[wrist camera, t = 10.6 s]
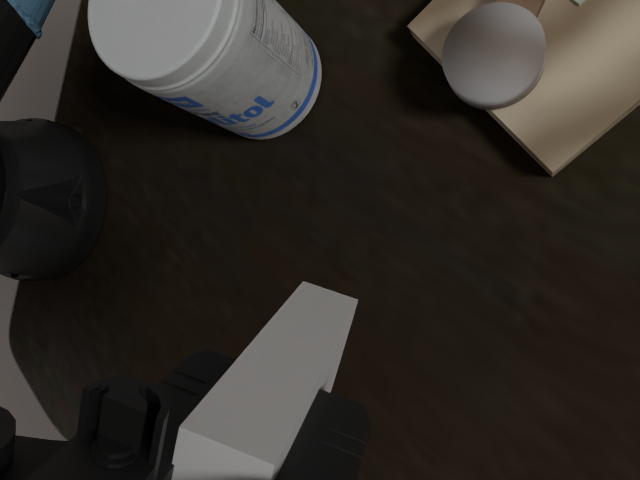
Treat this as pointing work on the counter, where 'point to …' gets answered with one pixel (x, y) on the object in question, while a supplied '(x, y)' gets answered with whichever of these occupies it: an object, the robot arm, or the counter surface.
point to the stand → (562, 73)
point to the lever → (496, 53)
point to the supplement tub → (213, 59)
